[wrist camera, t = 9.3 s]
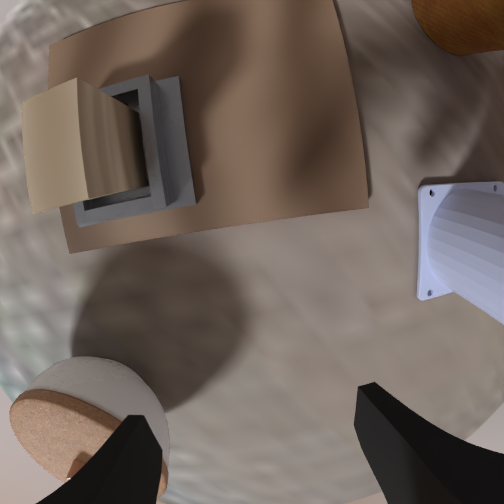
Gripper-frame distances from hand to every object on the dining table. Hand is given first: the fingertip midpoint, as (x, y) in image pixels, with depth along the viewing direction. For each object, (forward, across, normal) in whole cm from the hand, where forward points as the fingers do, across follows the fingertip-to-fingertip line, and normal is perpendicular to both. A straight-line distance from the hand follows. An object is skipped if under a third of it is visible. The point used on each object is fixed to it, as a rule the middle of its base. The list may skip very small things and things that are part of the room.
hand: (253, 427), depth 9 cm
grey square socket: (+10, +5, -10) cm, 15 cm away
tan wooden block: (+8, +5, -10) cm, 14 cm away
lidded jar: (+10, +11, +6) cm, 16 cm away
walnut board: (+10, +1, -12) cm, 16 cm away
